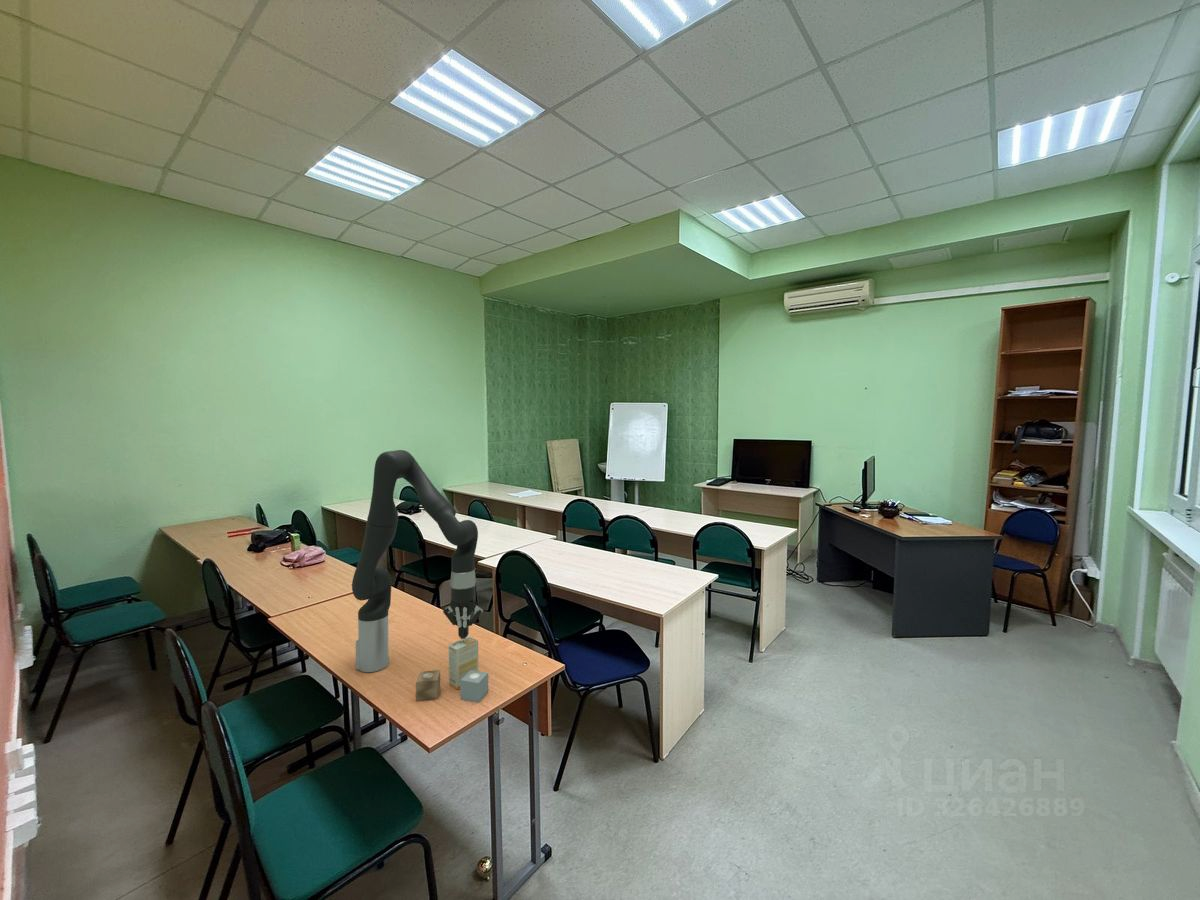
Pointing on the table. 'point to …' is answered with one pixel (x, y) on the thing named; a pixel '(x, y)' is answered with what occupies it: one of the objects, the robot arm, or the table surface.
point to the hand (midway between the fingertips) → (463, 637)
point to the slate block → (474, 686)
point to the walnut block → (428, 685)
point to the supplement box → (462, 659)
